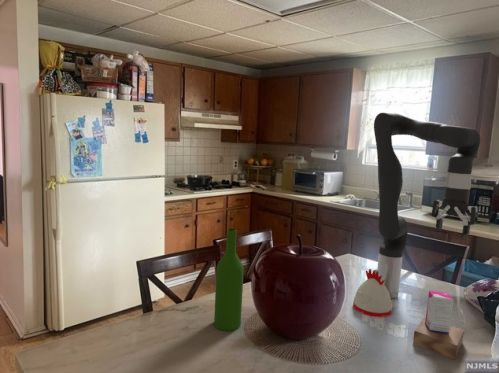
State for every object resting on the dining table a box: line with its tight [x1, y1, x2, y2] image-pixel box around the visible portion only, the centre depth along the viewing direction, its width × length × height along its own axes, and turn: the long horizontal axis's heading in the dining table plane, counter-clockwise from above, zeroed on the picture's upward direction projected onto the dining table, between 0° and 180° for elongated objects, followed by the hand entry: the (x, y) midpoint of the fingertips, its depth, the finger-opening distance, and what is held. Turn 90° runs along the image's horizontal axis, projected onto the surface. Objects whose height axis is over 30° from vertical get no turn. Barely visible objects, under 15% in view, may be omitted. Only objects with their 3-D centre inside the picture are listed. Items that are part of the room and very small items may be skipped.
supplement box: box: [425, 290, 454, 334], centre depth 118 cm, size 6×6×12 cm
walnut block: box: [412, 316, 465, 360], centre depth 118 cm, size 12×12×5 cm
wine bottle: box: [213, 228, 244, 332], centre depth 121 cm, size 9×9×32 cm
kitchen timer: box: [352, 268, 393, 318], centre depth 140 cm, size 14×14×15 cm
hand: (451, 232), depth 128 cm, fingers open, 8 cm apart
